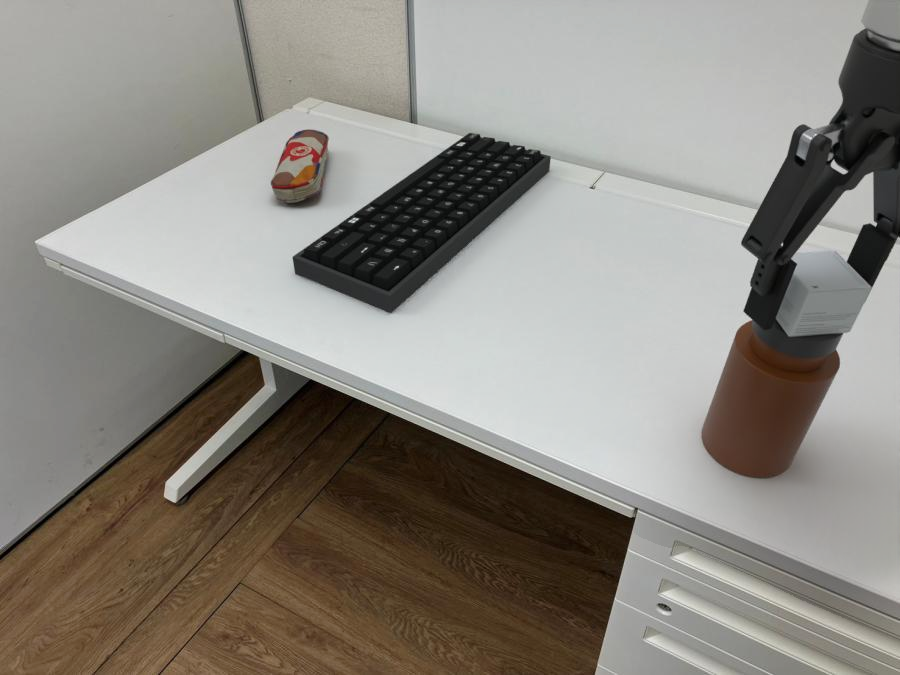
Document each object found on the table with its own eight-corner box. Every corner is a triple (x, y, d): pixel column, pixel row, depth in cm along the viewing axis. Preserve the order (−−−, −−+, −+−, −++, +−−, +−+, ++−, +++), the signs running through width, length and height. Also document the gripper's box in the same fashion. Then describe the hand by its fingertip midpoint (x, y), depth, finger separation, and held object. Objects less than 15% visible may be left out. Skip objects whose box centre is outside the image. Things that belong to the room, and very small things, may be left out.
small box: (851, 333, 59) (875, 287, 56) (787, 339, 58) (807, 291, 55) (817, 293, 63) (836, 247, 60) (756, 297, 63) (773, 251, 60)
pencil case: (247, 202, 108) (241, 173, 105) (296, 147, 123) (292, 120, 120) (314, 211, 107) (310, 181, 103) (356, 154, 121) (354, 127, 118)
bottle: (812, 463, 70) (881, 334, 59) (738, 489, 68) (796, 358, 57) (753, 402, 76) (806, 275, 65) (683, 423, 74) (725, 295, 63)
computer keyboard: (467, 148, 123) (468, 127, 121) (549, 171, 117) (551, 149, 114) (295, 273, 94) (291, 249, 92) (390, 313, 88) (389, 288, 85)
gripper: (990, 5, 52) (869, 259, 66) (744, 37, 46) (671, 309, 60) (1092, 36, 46) (936, 305, 61) (828, 78, 40) (726, 364, 55)
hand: (804, 307), depth 61 cm, fingers open, 9 cm apart
